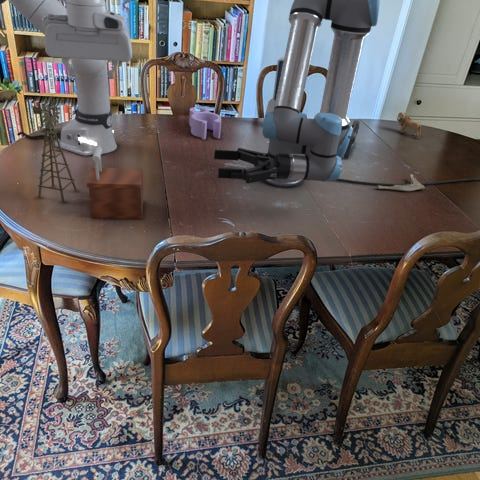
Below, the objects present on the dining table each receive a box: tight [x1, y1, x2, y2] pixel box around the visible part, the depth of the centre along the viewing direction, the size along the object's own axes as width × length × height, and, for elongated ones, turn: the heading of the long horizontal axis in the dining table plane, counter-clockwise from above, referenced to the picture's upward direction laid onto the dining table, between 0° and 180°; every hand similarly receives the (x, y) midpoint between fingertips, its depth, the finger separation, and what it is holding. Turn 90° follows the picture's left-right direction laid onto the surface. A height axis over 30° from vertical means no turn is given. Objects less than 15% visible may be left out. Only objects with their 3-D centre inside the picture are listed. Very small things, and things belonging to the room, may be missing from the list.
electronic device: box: [263, 56, 285, 119], centre depth 205 cm, size 12×8×30 cm, turn 71°
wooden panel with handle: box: [86, 147, 144, 189], centre depth 131 cm, size 14×10×9 cm
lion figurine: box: [396, 111, 424, 139], centre depth 219 cm, size 15×5×9 cm, turn 50°
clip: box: [188, 106, 222, 140], centre depth 199 cm, size 20×12×7 cm, turn 23°
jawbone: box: [376, 173, 426, 193], centre depth 169 cm, size 9×20×2 cm, turn 126°
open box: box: [88, 174, 144, 220], centre depth 136 cm, size 14×10×10 cm
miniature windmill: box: [31, 95, 78, 203], centre depth 135 cm, size 9×8×30 cm
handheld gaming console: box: [343, 119, 361, 159], centre depth 194 cm, size 23×3×10 cm, turn 161°
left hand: (91, 77), depth 117 cm, fingers open, 8 cm apart
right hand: (216, 163), depth 133 cm, fingers open, 13 cm apart
